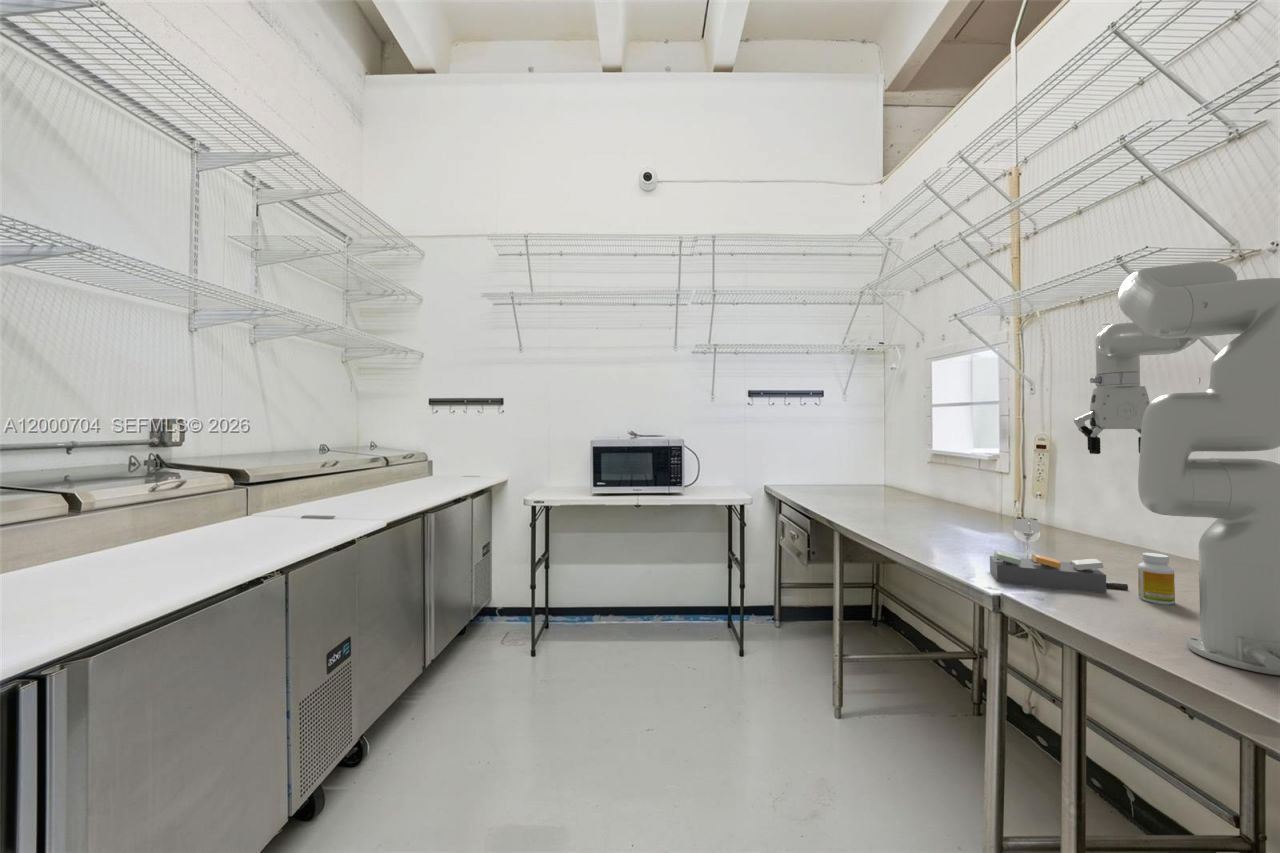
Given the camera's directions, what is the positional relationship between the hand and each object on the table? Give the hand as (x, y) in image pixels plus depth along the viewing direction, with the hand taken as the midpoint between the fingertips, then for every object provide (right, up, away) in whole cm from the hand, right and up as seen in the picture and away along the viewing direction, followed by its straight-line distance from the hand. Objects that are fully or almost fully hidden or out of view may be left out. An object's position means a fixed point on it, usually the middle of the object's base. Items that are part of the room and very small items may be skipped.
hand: (1119, 453), depth 119 cm
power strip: (-14, -31, +1) cm, 34 cm away
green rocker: (-24, -25, +3) cm, 35 cm away
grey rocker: (-11, -25, -3) cm, 28 cm away
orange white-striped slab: (-18, -25, 0) cm, 31 cm away
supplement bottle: (-4, -31, -12) cm, 33 cm away
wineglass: (-8, -31, +18) cm, 37 cm away
